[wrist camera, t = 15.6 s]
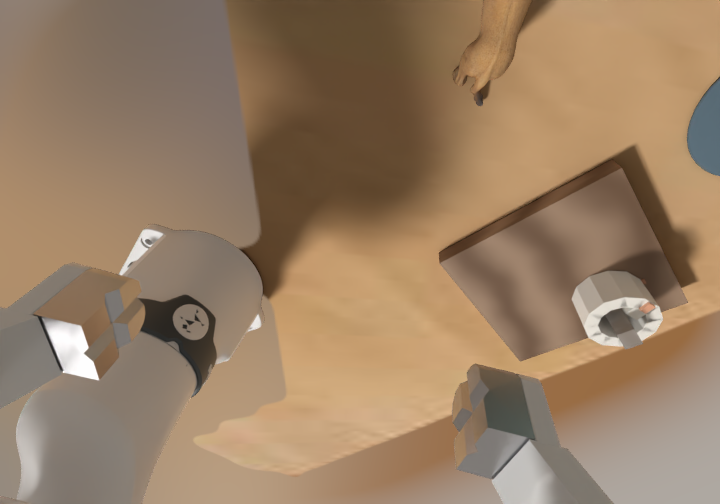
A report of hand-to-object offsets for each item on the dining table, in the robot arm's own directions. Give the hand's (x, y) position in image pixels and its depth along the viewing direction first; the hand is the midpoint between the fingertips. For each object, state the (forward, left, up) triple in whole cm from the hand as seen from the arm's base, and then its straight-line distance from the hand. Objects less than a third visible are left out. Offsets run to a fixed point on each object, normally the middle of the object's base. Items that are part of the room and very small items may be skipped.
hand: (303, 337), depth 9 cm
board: (+3, -26, -29) cm, 39 cm away
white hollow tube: (+6, -30, -27) cm, 41 cm away
